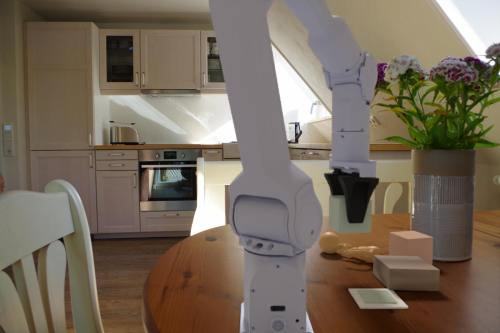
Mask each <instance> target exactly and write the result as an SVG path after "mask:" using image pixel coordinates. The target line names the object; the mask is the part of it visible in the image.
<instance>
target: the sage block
mask: <svg viewBox="0 0 500 333" xmlns="http://www.w3.org/2000/svg"><path fill="white" fill-rule="evenodd" d="M328 196H329V197H328V227H329V228H330V229H332V230H334V231H335V232H336V233H338V234H368V233H369V234H371V233H372V212H373V211H372V210H373V209H372V208H373V207H372V204H373V202H372V201H373V200H372V199H371V198H370V201H369V204H368V207H367V211H366V215H365V218H364V222H363V223H354V224H350V223H349V222H348V219H347V213H346V203H345V197H344V195H336V196H332V195H328Z"/></svg>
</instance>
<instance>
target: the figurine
mask: <svg viewBox="0 0 500 333" xmlns="http://www.w3.org/2000/svg"><path fill="white" fill-rule="evenodd" d="M318 247H319V248H320V250H321V251H322V252H323V253H326V254H328V255H329V254H330V255H332V254H334V253H335V254H336V252H338V251H339V250H341V249H342V248H343V250H342V252H343V253H344V254H346V255H347V256H355V255H359V254H361V255H362V256H364V257H365V259H368V260H371V261H372V263H373V262H374V255H381V253H382V250H381V249H380V247H378V246H375V245H373V246H372V245H369V246H365V245H364V246H358V247H353V246H352V245H351V244H349V243H341V239H340V237H339V235H338V234H336V233H334V232H332V231H327V232H324V233H323V234H320V236H319V238H318Z"/></svg>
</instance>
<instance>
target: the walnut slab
mask: <svg viewBox="0 0 500 333" xmlns="http://www.w3.org/2000/svg"><path fill="white" fill-rule="evenodd" d="M372 263H373V265H372V266H373V269H372V274H373V276H374V277H375V278H376V279H378V281H380V283H382V285H383V286H385V287H386V289H389V290H393V291H417V292H418V291H422V292H439V291H440V278H441V277H440V274H441V270H440V269H439V268H438V267H436V266H435V265H433V264H432V265H431V264H430V263H428V262H426V261H425V260H423V259H422V258H420V257H418V256H389V255H383V254H382V255H381V254H380V255H374V262H373V261H372Z"/></svg>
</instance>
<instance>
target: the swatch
mask: <svg viewBox="0 0 500 333" xmlns="http://www.w3.org/2000/svg"><path fill="white" fill-rule="evenodd" d="M348 292H349V293H350V295H351V297H352V298H353V300H354V301H355V302H356V305H358V307H359V309H361V310H363V309H364V310H365V309H366V310H367V309H368V310H373V309H374V310H376V309H377V310H378V309H386V310H391V309H392V310H394V309H397V310H398V309H399V310H400V309H401V310H402V309H404V310H405V309H407V310H408V309H409V306H408V305H407V304H406V303H405V301H403V300H402V299H401V298H400V296H399V295H398V294H397V293H396V292H395V290H389V289H388V288H348Z"/></svg>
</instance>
